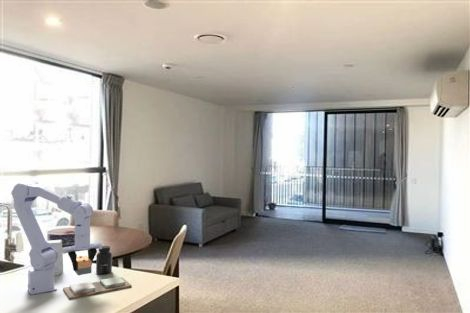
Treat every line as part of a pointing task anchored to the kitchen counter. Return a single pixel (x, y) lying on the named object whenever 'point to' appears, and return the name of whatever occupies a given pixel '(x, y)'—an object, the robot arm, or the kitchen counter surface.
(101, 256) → the supplement bottle
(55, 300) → the kitchen counter surface
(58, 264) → the skincare box
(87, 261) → the plate
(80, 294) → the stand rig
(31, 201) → the robot arm
